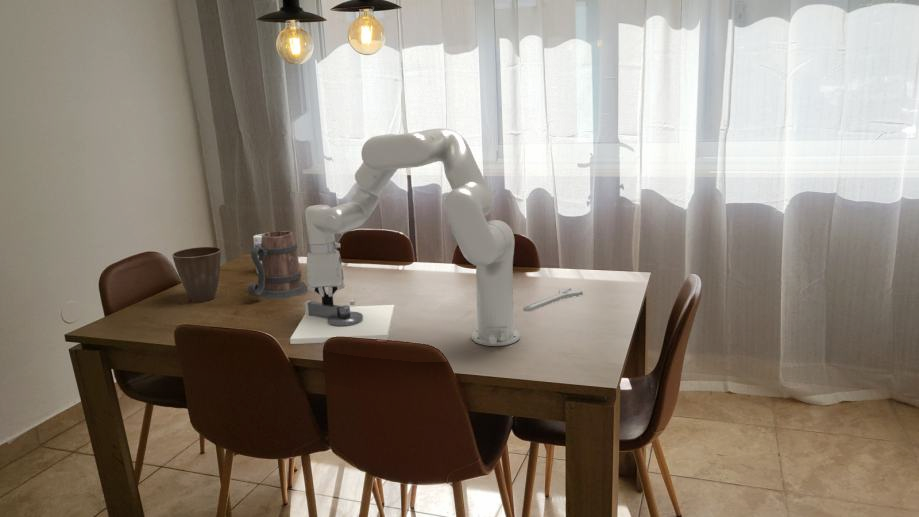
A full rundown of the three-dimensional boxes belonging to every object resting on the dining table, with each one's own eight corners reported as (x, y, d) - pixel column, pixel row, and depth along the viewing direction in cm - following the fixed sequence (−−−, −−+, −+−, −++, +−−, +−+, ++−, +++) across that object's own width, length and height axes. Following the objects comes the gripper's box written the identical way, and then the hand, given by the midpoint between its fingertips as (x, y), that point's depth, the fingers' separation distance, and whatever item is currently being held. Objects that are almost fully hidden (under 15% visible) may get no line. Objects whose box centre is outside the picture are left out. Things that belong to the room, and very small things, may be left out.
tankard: (280, 282, 248) (274, 227, 243) (318, 286, 241) (313, 229, 236) (232, 301, 228) (225, 241, 223) (273, 307, 221) (266, 245, 216)
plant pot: (170, 300, 232) (163, 253, 228) (212, 289, 243) (206, 244, 239) (192, 308, 222) (185, 259, 218) (235, 297, 233) (229, 250, 229)
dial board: (387, 340, 188) (386, 331, 188) (290, 344, 188) (289, 335, 187) (395, 304, 218) (395, 297, 217) (311, 308, 218) (311, 300, 217)
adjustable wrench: (528, 313, 207) (527, 308, 206) (513, 308, 212) (513, 303, 211) (585, 295, 221) (585, 289, 221) (570, 290, 226) (570, 285, 226)
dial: (370, 317, 202) (369, 304, 201) (347, 328, 194) (346, 314, 193) (319, 308, 212) (318, 296, 211) (296, 318, 203) (294, 305, 202)
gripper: (349, 243, 206) (355, 303, 210) (299, 246, 206) (305, 306, 210) (346, 249, 199) (351, 311, 203) (293, 252, 199) (300, 314, 203)
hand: (328, 308), depth 207 cm, fingers closed
